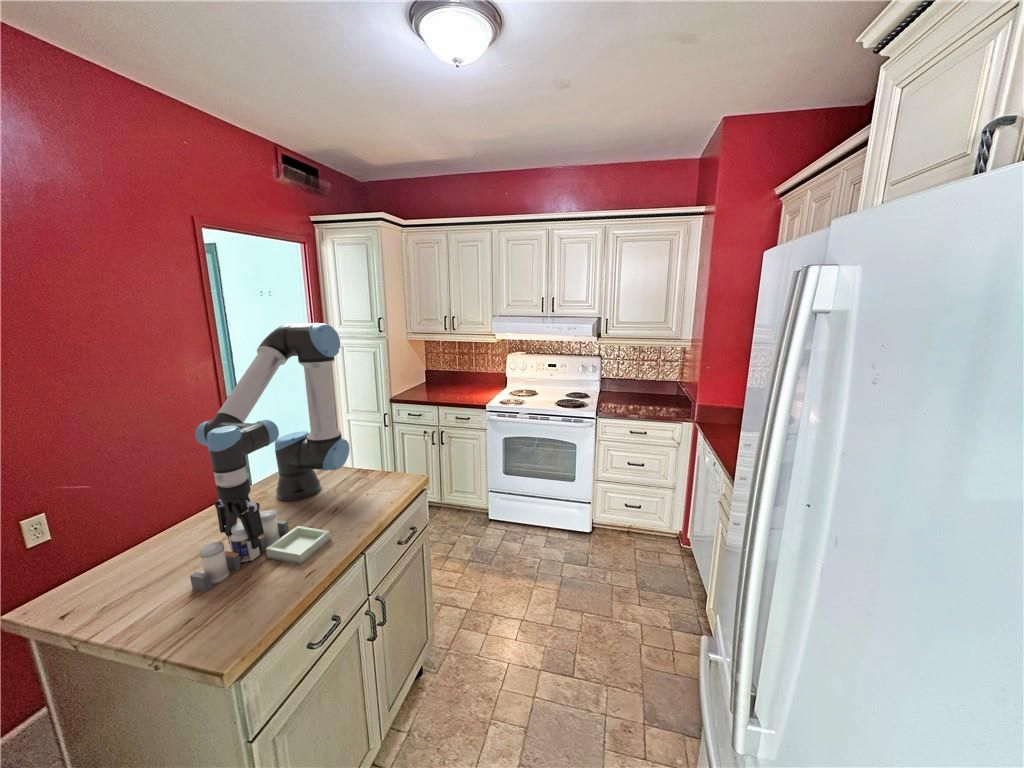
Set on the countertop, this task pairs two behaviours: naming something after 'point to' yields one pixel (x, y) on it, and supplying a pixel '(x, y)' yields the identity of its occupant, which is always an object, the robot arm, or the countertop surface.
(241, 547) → the pill bottle
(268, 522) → the fuse
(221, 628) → the countertop surface
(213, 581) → the white rounded cylinder
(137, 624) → the countertop surface
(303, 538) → the tray
